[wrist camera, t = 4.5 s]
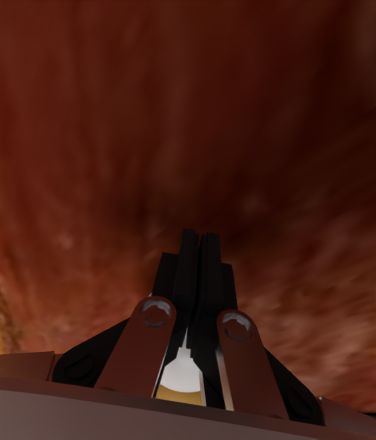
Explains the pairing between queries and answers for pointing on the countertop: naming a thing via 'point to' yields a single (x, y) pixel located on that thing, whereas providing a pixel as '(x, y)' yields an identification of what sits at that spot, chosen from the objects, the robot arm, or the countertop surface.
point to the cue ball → (181, 372)
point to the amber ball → (179, 396)
